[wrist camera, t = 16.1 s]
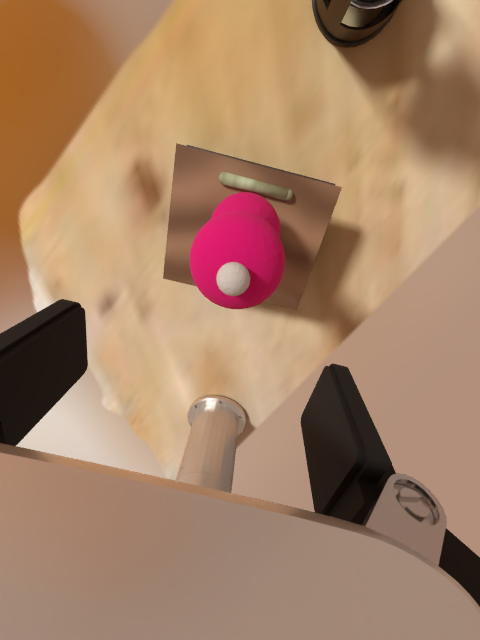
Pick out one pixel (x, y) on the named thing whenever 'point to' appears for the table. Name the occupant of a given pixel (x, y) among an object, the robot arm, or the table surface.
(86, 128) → the table surface
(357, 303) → the table surface
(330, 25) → the french press
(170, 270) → the board
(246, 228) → the pepper mill
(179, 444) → the table surface
